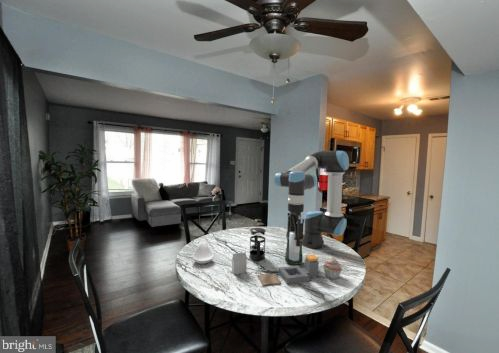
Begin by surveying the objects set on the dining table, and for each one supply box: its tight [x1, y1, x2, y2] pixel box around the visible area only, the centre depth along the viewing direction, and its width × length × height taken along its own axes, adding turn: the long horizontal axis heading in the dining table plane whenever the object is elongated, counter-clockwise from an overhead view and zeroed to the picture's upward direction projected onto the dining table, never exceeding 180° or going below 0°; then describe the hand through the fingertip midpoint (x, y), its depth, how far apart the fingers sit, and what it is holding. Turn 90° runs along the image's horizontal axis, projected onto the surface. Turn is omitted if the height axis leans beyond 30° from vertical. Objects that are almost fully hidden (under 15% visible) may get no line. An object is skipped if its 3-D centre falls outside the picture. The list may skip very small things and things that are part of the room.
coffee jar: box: [284, 231, 304, 265], centre depth 132 cm, size 10×8×19 cm
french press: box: [249, 218, 266, 262], centre depth 137 cm, size 12×9×23 cm
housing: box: [278, 257, 320, 285], centre depth 116 cm, size 18×11×8 cm, turn 104°
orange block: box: [304, 254, 319, 262], centre depth 117 cm, size 5×5×6 cm
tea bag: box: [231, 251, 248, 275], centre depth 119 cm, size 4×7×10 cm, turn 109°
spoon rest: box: [191, 241, 215, 265], centre depth 136 cm, size 24×12×7 cm, turn 14°
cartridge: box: [289, 231, 299, 261], centre depth 114 cm, size 5×5×13 cm
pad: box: [257, 273, 282, 287], centre depth 112 cm, size 9×9×1 cm
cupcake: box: [322, 256, 343, 280], centre depth 117 cm, size 9×9×10 cm
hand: (294, 249), depth 114 cm, fingers closed on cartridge, 5 cm apart
